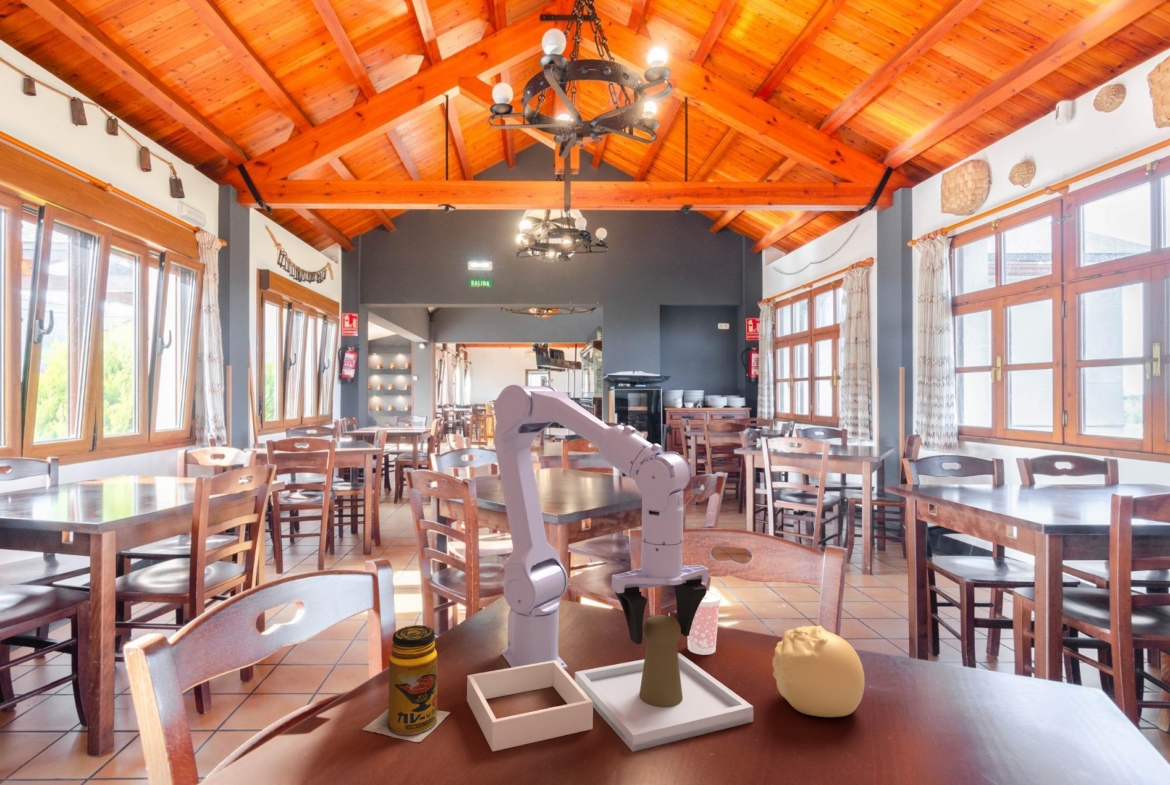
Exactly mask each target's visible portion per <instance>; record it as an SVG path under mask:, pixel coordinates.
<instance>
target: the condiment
mask: <svg viewBox="0 0 1170 785" xmlns="http://www.w3.org/2000/svg"><path fill="white" fill-rule="evenodd" d="M435 634H436V633H435V632H434V629H433V628H431V627H430V626H427V625H421V624H420V625H419V624H414V625H407V626H404V627H402V628H399V629H397V630H396V631H395V632H394V633H393V634H392V639H391V640H392V646H391V650H392V652H391V653H390V655H389V660H388V663H389V664H388V666H389V667H388V702H387V703H388V708H387V709H386V710H385V711H384V712H382V713H381V714H380V715H379V716H377V718H375V719H373V720H372V721H371V722H370V723H369V724H368V725H366V726H365V727H363V728H362V731H365V732H366V731H367V732H370V733H377V734H379V735H384V736H388V737H391V738H396V739H401V740H405V741H410V742H414V743H420V742H422V741H423V740H424V739H425V738H427V737H428V736H429V735H430V734H431V733H432V732H433V731H434V730H435V729H436V728H437V727H438V726H439V725H440V724H441V723H442V722H443V721H444V720H445V719H446V717H448V716H449V714H451V712H450V711H443V710H438V691H439V690H438V681H439V680H438V669H439V667H438V666H439V663H438V660H439V658H438V652H437V650H436V648H435V647H436V641H435V636H436V635H435Z"/></svg>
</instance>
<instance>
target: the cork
mask: <svg viewBox="0 0 1170 785" xmlns="http://www.w3.org/2000/svg"><path fill="white" fill-rule="evenodd" d="M643 636H644V639H645V640H646V648H645V654H644V659H645V660H644V667H643V673H642V680H641V687H640V694H639V696H640V699H641V700H642V701H643V702H645V703H646V704H648V705H651V706H655V707H662V708H664V707H673V706H676V705H678V704H680V703H681V702H682V699H683V696H682V687H681V678H680V669H679V660H678V653H679V652H678V644H677V643H678V642H679V641H680V639H681V636H682V634H681V628H680V625H679V623H678V621H677V618H675V617H673V616H670V615H666V614H665V615H664V614H655V615H652V616H649V617H648V618H646V620H645V621H644V623H643Z"/></svg>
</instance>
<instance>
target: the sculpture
mask: <svg viewBox="0 0 1170 785" xmlns="http://www.w3.org/2000/svg"><path fill="white" fill-rule="evenodd" d="M773 650H774V656H773V657H772V667H773V673H772V674H773V675H772V676H773V677H774V678H773V679H775V680H776V688H777V689H778V692H779V694H780V696H782V697H783V698H784V699H785V700H786V701H787V702H788V703H789V705H790V706H791V707H792V708H793V709H795V710H796V711H798V712H799V713H802V714H805V715H807V716H808V715H809V716H812V717H821V718H839V717H840V718H841V717H846V716H849V715H851V714H852V713H853V712H854V711H856V709H857V708H858V706H859V705H860V704H861V701H862V699H863V695H864V692H865V691H864V690H865V683H866V682H865V681H866V680H865V672H864V667H863V664H862V661H861V659H860V657H859V655H858V653H857V652H856V650H855V648H854V647H853V646H852V645H851V644H850V643H849V642H848V641H846V640H845V639H844V638H842V637H841V636H839V635H837V634H835V633H833V632H830V631H827V630H826V629H825V628H824V626H822V625H807V626H806V625H803V626H799V627H795V628H793V629H792V628H791V629H787V630H784V632H783V636H782V639H781V641H778V642H777V643H776V647H775V648H774V649H773Z"/></svg>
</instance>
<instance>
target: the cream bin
mask: <svg viewBox="0 0 1170 785" xmlns="http://www.w3.org/2000/svg"><path fill="white" fill-rule="evenodd" d="M466 679H467V680H466V681H467V683H466V690H467V691H466V701H467V703H468V706H469V707H470V709H471V711H472V713H473V715H474V718H475V719H476V722H477V723H478V725H479V728H480V729H481V732H482V733H483V735H484V737H485V739H486V742H487V743H488V746H489V748H490V750H491V751H492V753H493V752H496V751H501V750H505V749H510V748H514V747H515V748H516V747H519V746H523V745H524V746H525V745H527V744H533V743H537V742H541V741H545V740H549V739H550V740H551V739H554V738H558V737H564V736H566V735H571V734H577V733H579V732H580V733H582V732H585V731H589V730H593V726H594V725H593V724H594V719H593V718H594V707H593V701H592V700H591V699H590V698H589V697H588V695H587V694H586V693H585V692H584V691H583V690H582V689H581V688H580V687H579V685H578V684H577V683H576V682H575V679H574V678H573V677H572V676H571V675H570V674H569V673H568V671H566V669H563V667H562V666H561V665H560V664H559V663H558V662H557V661H556V660H553V661H548V662H542V663H536V664H530V665H524V666H519V667H513V668H512V667H508V668H502V669H496V670H491V671H485V672H479V673H478V672H477V673H473V674H468V675H467V676H466ZM551 687H553V688H554V689H555V690H556V691H557V693H558V694H559V695H560V697H561V698H562V699H563V700H564V701H565V703H566V704H563V705H559V706H553V707H548V708H544V709H538V710H534V711H529V712H524V713H523V712H522V713H519V714H515V715H509V716H505V717H499V718H497V717H496V716H495V714H494V712H493V711H492V709H491V707H490V705H489V703H488V701H487V700H488V699H493V698H497V697H503V696H509V695H513V694H520V693H525V692H530V691H535V690H541V689H545V688H551Z"/></svg>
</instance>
